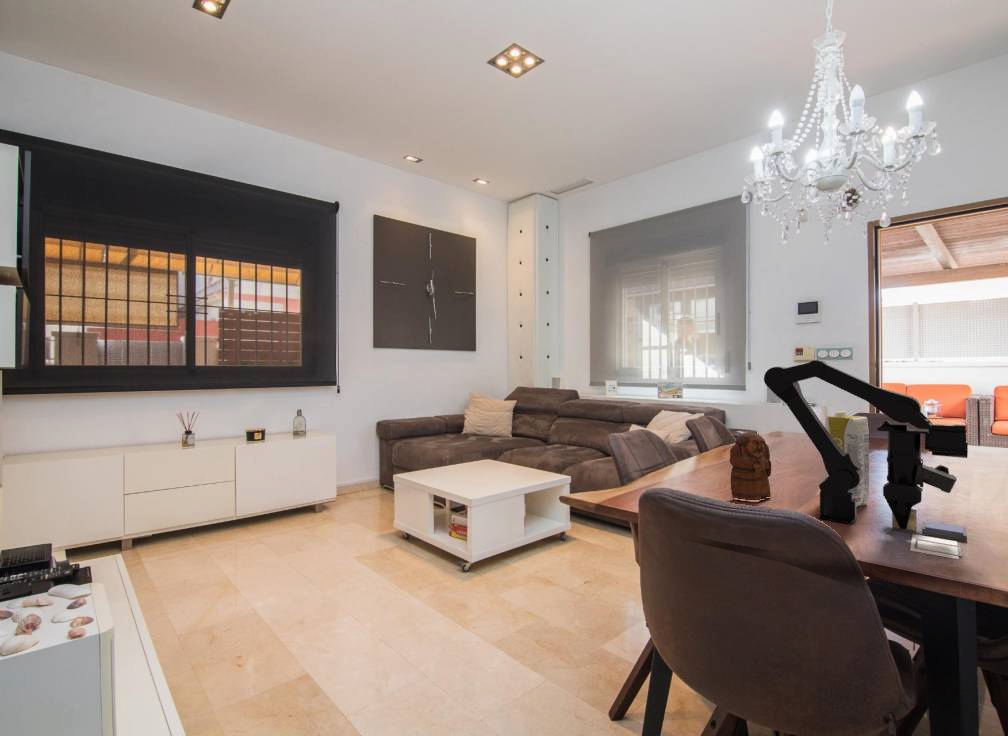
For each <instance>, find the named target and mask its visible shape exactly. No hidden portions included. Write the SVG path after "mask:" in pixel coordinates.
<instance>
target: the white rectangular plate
mask: <svg viewBox="0 0 1008 736" xmlns="http://www.w3.org/2000/svg"><path fill="white" fill-rule="evenodd" d="M909 551H910V552H911V551H912V552H916V553H922V554H928V555H932V556H939V557H943V558H949V559H954V560H959V559H960V558H961V557H962V550H961V546H959V545H958V540H952V539H946V538H940V537H934V536H928V535H922V534H912V537H911V542H910V549H909Z"/></svg>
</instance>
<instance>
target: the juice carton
mask: <svg viewBox="0 0 1008 736" xmlns="http://www.w3.org/2000/svg"><path fill="white" fill-rule="evenodd" d="M833 414H834V416H829V415H828V416H825V425H824V427H825V428H826V430H827V431H828V432H829V434H830V435H831V437H832V438H833V440H834V441H835V442H836V444H837V445H838V446H839V447H840V448H841V449H842V450H843V451H844V452H845V453H848V452H849V451H851V450H852V451H853V453H854V455H855V457H856V459H857V460H858V462H859V463H861V464H862V465H863V466H862V467H861V469H862V471H863V477H862V480H861V481H860V483H859V484H858V485H857V486H856V487H855V488H853V489H851V490H850V491H849V492H850V493H853V500H856V508H857V507H859V506H864V505H867V504H868V502H869V495H870V448H869V447H870V439H869V438H870V433H869V431H870V429H869V422H868V417H867V416H861V415H848V414H847V412H846V411H834V413H833ZM828 476H829V475H828V473H827V471H826V468H825V467H824V480H825V479H826V478H827V477H828Z"/></svg>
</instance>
